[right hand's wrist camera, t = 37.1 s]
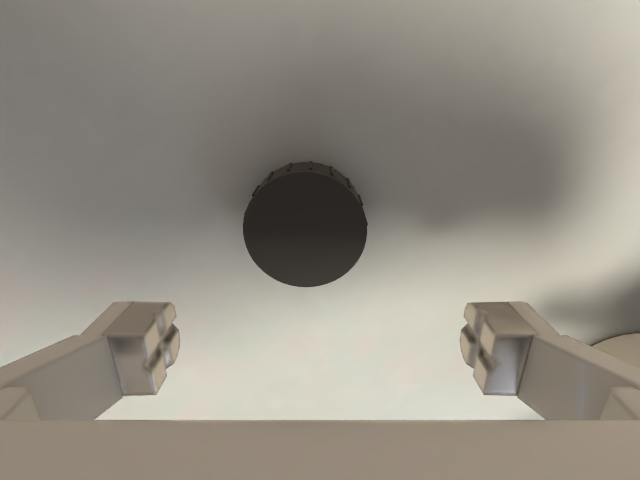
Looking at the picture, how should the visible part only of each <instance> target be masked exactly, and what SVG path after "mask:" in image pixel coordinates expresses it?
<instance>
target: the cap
mask: <svg viewBox="0 0 640 480" xmlns="http://www.w3.org/2000/svg"><path fill="white" fill-rule="evenodd" d="M252 196H253V198H252V200H251V201H250V203H249V205H248V207H247V209H246V212H245V214H244V215H245V216H244V223H243V234H244V240H245V244H246V247H247V249H248V252H249V254H250V256H251V257H252V259H253V260H254V262H255V263H256V264H257V265H258V267H259V268H261V269H262V270H263V271H264V272H265V273H266V274H268V275H269V276H270V277H272V278H274V279H276V280H278V281H280V282H282V283H285V284H288V285H292V286H298V287H314V286H320V285H324V284H327V283H330V282H332V281H334V280H336V279H338V278H340V277H341V276H343V275H344V274H345V273H347V272H348V271H349V270H350V269H351V268H352V267H353V266H354V265H355V263H356V262H357V261H358V259H359V257H360V256H361V254H362V252H363V249H364V246H365V243H366V237H367V221H366V217H365V214H364V211H363V208H362V206H363V203H362V200H361V197H360V195H359V194H358V195H357V192H356V191H355V189H354V187H353V186H352V184H351V183H350V181H349V179H348V178H347V179H346V178H345V177H344V176H343V175H342V174H340V173H339V172H337V171H336V170H334V169H333V167H328V166H325V165H322V164H317V163H312V161H310V163H309V162H303V163H295V164H292V163H289V165H287V166H284V167H282V168H280V169H278V170H276V171H275V172H273V171H272V172H271V173H270V175H269V176H268V177H267V178H266V179H265V180H264V181H263V183H262V184H261V185H260V186H259V185H258V187H257V188H256V190H255V191H254V193H253V194H252Z"/></svg>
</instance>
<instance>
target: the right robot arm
mask: <svg viewBox="0 0 640 480" xmlns="http://www.w3.org/2000/svg"><path fill="white" fill-rule="evenodd" d="M175 318H176V312H175V307H174V305H173V304H172V303H171V302H134V301H124V302H113V303H112V304H111V305H110V306H109V307H108V308H107V309H106V310H105V311H104V312H103V313H102V314H101V315H100V316H99V317H98V318H97V319H96V320H95V321H94V322H93V323H92V324H91V325H90V326H89V327H88V328H87V329H86V330H85V331H84V332H83V333H82V334H81V335H73V336H71V337H69V338H67V339H64V340H62V341H60V342H57V343H55V344H53V345H51V346H48V347H46V348H44V349H41V350H39V351H37V352H35V353H32V354H30V355H28V356H25V357H23V358H21V359H19V360H16V361H14V362H12V363H9V364H7V365H5V366H3V367H0V480H640V368H639V367H637V366H635V365H633V364H630V363H628V362H626V361H624V360H621V359H619V358H617V357H614V356H612V355H610V354H608V353H605V352H603V351H601V350H598V349H596V348H594V347H592V346H589V345H587V344H585V343H583V342H580V341H578V340H576V339H573V338H571V337H569V336H567V335H559V334H558V333H557V332H556V331H555V330H554V329H553V328H552V327H551V326H550V325H549V324H548V323H547V322H546V321H545V320H544V319H543V318H542V317H541V316H540V315H539V314H538V313H537V312H536V311H535V310H534V309H533V308H532V307H531V306H530V305H529V304H528V303H526V302H523V301H515V302H479V303H467V305H466V307H465V311H464V318H465V319H466V321H467V322H468V323H467V324H466V326H465V327H464V328H463V329H462V330H461V336H460V347H461V352H462V356H463V358H464V360H465V362H466V364H467V365H469V366H470V367H472V368H473V369H474V374H473V377H474V378H475V380H476V382H477V384H478V386H479V387H480V389H481V391H482V393H483V395H507V396H518V398H519V399H520V400H522V401H523V402H524V403H525V404H527V405H528V406H529V407H530V408H532V409H533V410H534V411H536V412H537V413H538V414H539V415H541V416H542V417H543V418H545V419H546V420H94V419H96V418H97V417H98V416H99V415H101V414H102V413H103V412H105V411H106V410H107V409H108V408H110V407H111V406H112V405H114V404H115V403H116V402H117V401H119V400H120V399H121V398H122V396H132V395H157V393H158V391H159V389H160V387H161V386H162V384H163V382H164V380H165V378H166V377H167V374H166V369H167V368H168V367H170V366H171V365H173V364H174V362H175V360H176V358H177V356H178V352H179V347H180V335H179V330H178V329H177V328H176V327H175V326H174V324H173V323H172V322H173V321H174V319H175Z"/></svg>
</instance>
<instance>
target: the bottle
mask: <svg viewBox="0 0 640 480" xmlns="http://www.w3.org/2000/svg"><path fill="white" fill-rule="evenodd" d="M592 347H594V348H596V349H598V350H601V351H603V352H605V353H608V354H610V355H612V356H614V357H617V358H619V359H621V360H624V361H626V362H628V363H630V364H633V365H635V366H637V367H639V368H640V333H633V334H626V335H621V336H617V337H613V338H610V339H607V340H604V341H602V342H600V343H597V344H595V345H593V346H592Z"/></svg>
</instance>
